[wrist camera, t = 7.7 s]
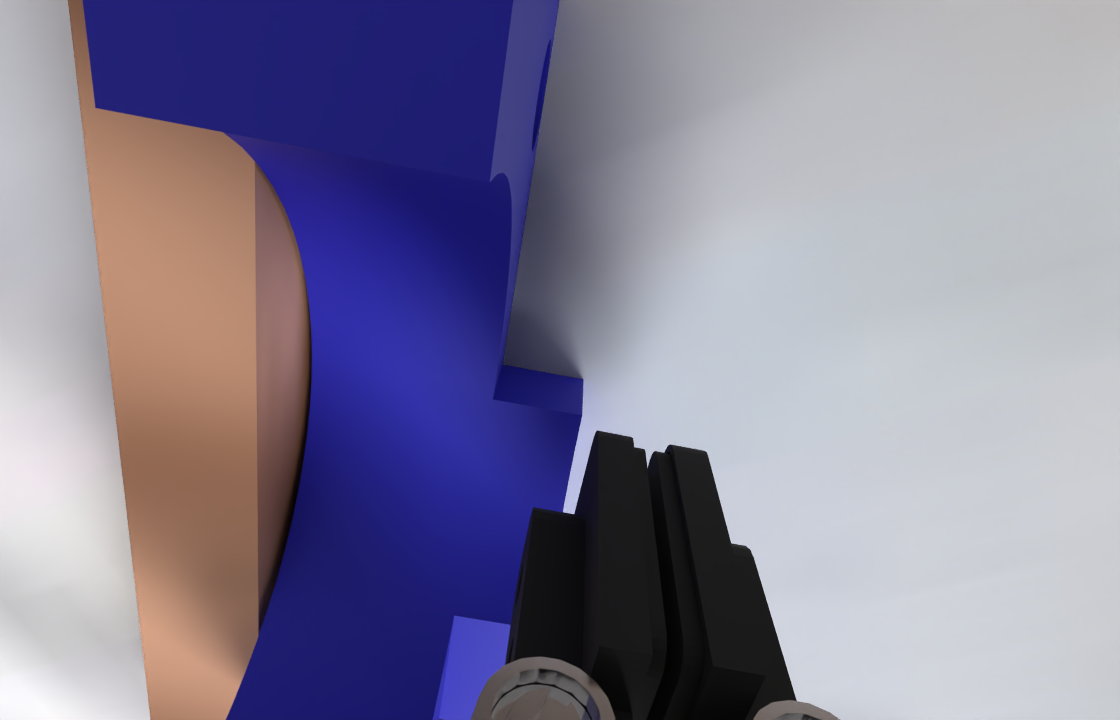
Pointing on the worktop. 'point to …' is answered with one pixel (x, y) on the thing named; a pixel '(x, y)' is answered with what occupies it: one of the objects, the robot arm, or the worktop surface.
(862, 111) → the worktop surface
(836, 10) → the worktop surface
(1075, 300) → the worktop surface
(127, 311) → the guide channel
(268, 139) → the cable clip
